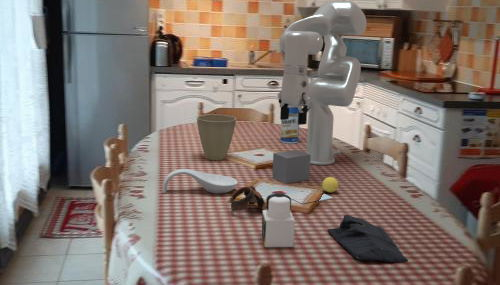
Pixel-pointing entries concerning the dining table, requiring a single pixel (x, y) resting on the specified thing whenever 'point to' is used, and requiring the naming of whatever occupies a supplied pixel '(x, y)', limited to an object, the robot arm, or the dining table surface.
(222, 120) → the plant pot
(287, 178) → the plain gray box
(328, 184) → the ball
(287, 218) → the medicine bottle
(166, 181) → the spoon rest
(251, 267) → the dining table surface
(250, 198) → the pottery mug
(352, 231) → the dark gray folded cloth
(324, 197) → the pale gray panel
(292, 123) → the beverage bottle
